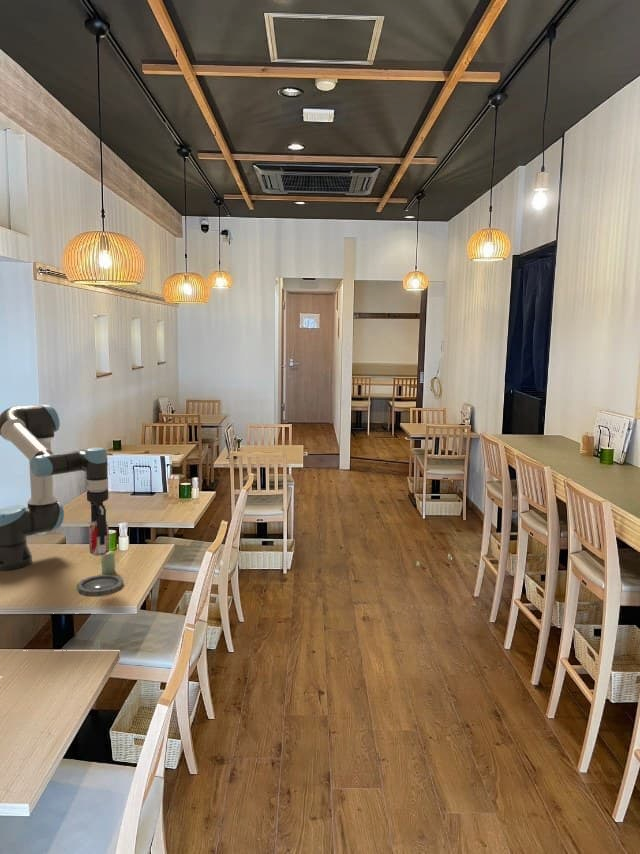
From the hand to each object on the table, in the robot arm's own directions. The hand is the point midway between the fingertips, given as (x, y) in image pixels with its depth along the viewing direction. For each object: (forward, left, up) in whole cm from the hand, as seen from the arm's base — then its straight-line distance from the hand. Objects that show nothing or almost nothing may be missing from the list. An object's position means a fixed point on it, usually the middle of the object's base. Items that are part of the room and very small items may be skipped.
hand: (99, 549), depth 228 cm
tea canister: (-13, +6, -15) cm, 21 cm away
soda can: (0, 0, -2) cm, 2 cm away
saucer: (0, 0, -15) cm, 15 cm away
